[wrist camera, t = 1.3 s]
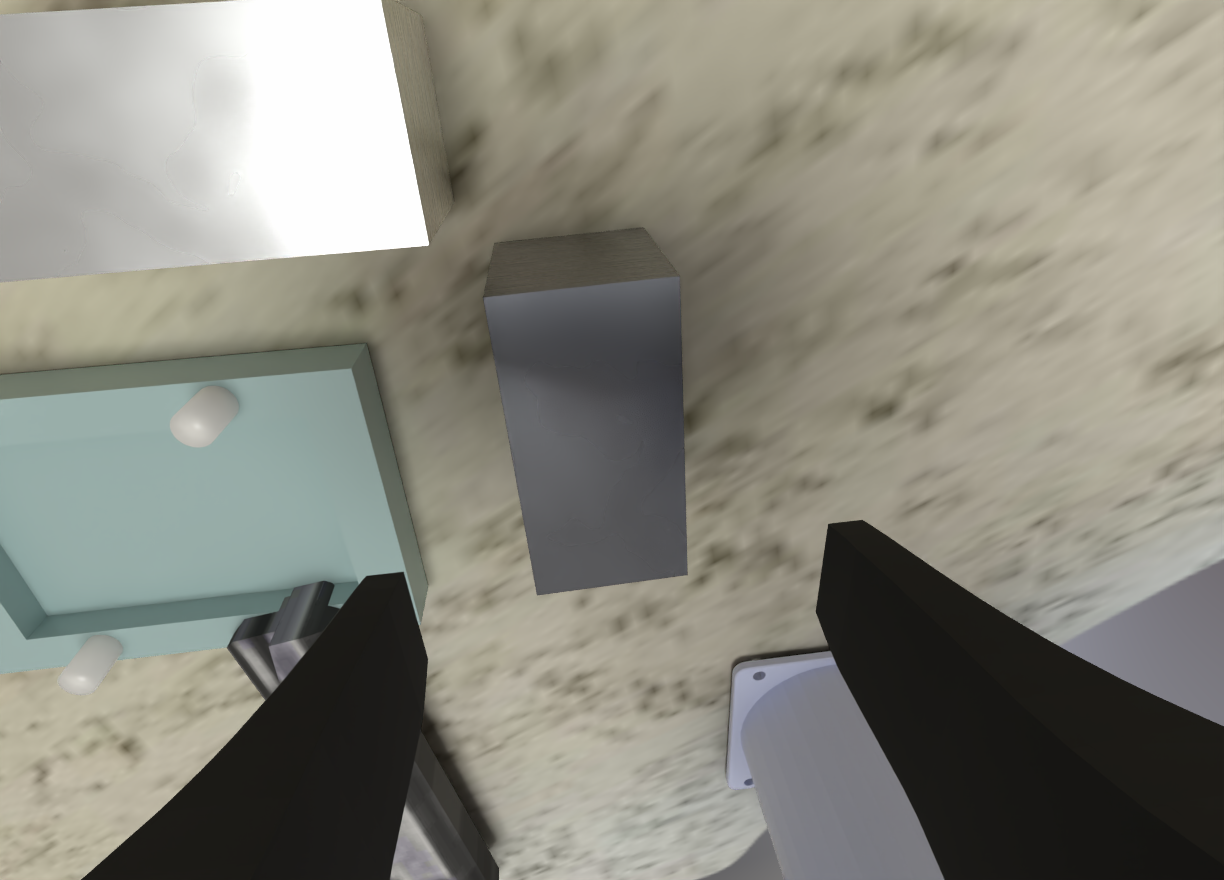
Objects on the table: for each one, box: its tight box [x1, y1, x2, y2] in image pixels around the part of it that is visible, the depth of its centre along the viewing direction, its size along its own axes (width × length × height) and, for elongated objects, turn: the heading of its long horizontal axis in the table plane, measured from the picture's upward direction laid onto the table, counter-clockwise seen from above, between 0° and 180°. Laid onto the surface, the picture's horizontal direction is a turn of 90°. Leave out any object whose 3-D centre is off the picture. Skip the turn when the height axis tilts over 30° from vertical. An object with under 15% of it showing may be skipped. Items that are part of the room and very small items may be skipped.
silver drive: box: [0, 0, 454, 282], centre depth 13 cm, size 8×4×5 cm, turn 93°
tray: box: [0, 343, 428, 695], centre depth 18 cm, size 13×9×3 cm
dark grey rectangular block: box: [483, 228, 688, 595], centre depth 17 cm, size 8×4×5 cm, turn 4°
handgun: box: [227, 581, 499, 880], centre depth 25 cm, size 3×21×12 cm
